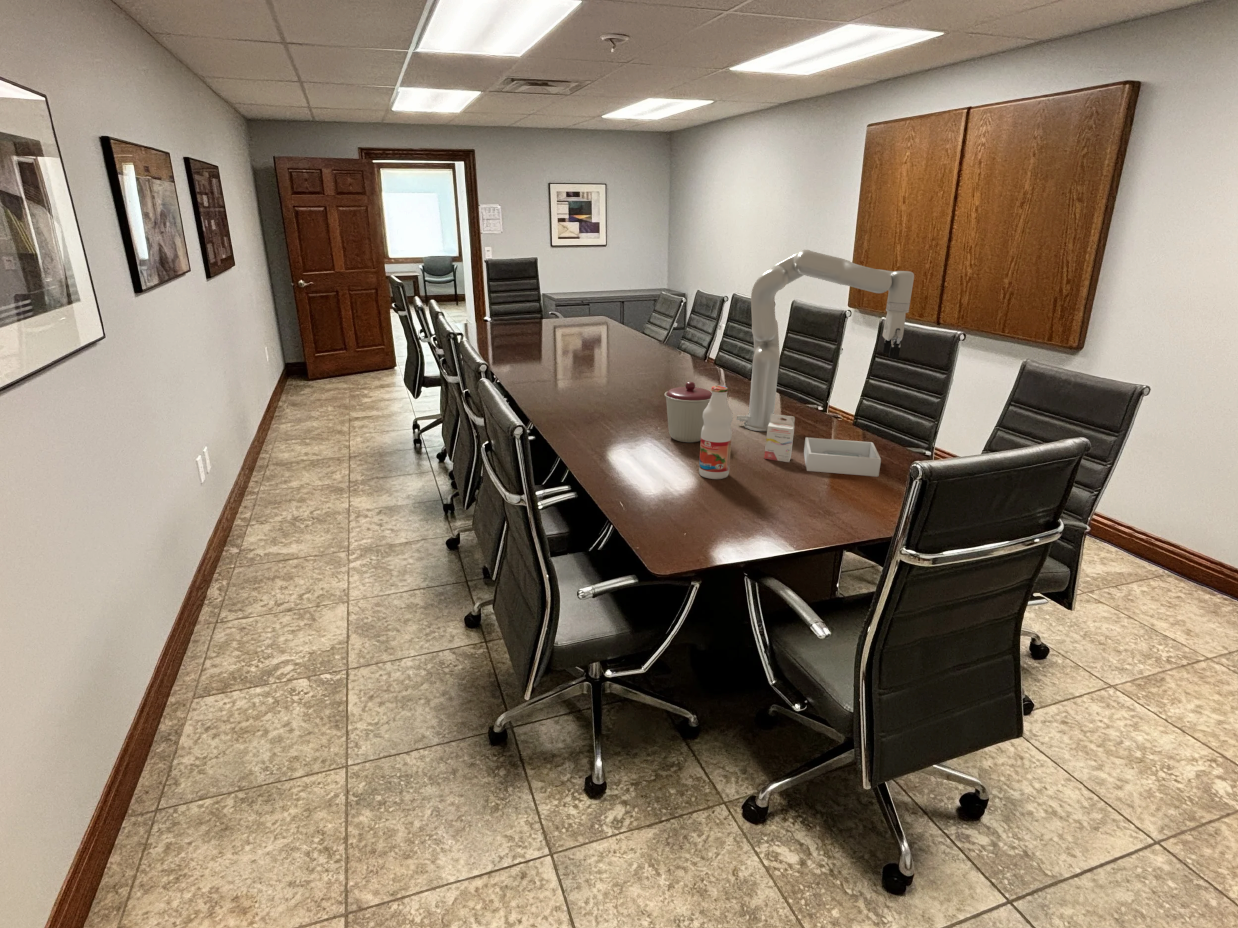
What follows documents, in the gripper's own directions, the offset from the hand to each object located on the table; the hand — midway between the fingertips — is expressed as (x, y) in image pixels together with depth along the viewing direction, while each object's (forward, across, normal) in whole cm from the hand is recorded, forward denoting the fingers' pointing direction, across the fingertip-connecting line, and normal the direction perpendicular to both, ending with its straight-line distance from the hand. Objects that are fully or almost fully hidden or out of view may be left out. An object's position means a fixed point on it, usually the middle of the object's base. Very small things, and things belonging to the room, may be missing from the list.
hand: (890, 355), depth 249 cm
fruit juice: (+31, +53, -61) cm, 86 cm away
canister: (+31, +16, -71) cm, 79 cm away
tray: (+31, +35, -20) cm, 51 cm away
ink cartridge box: (+31, +33, -40) cm, 60 cm away
